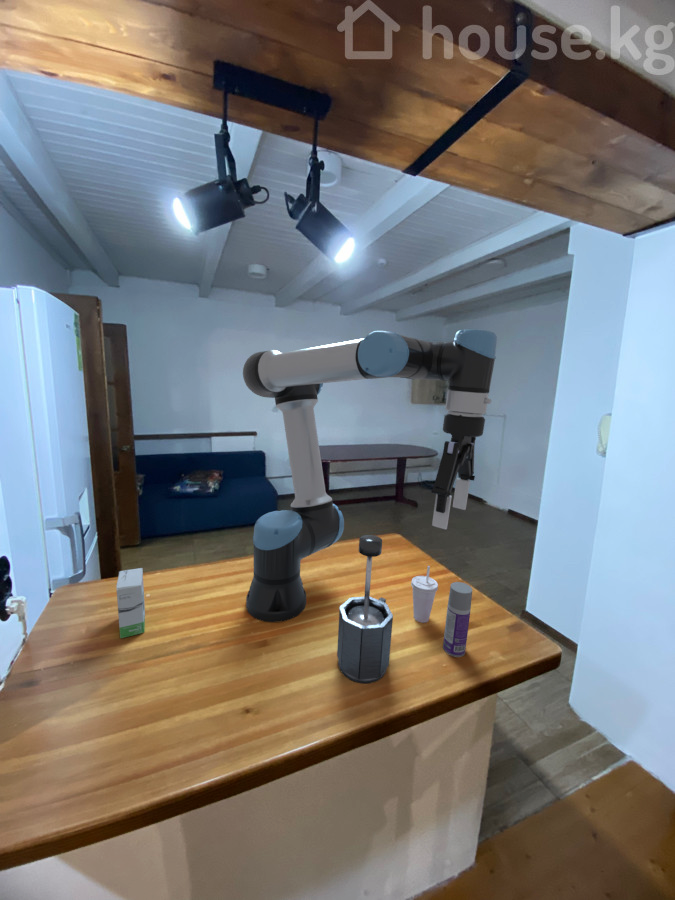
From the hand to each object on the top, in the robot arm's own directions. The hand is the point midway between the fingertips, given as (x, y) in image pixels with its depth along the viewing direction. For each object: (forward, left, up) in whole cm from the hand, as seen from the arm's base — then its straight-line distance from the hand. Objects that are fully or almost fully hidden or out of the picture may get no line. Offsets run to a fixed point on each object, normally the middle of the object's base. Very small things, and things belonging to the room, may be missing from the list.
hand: (449, 517), depth 75 cm
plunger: (-11, -14, -20) cm, 27 cm away
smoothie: (-7, +8, -31) cm, 32 cm away
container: (+3, +2, -31) cm, 31 cm away
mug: (-11, -13, -30) cm, 35 cm away
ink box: (-59, -36, -31) cm, 75 cm away
